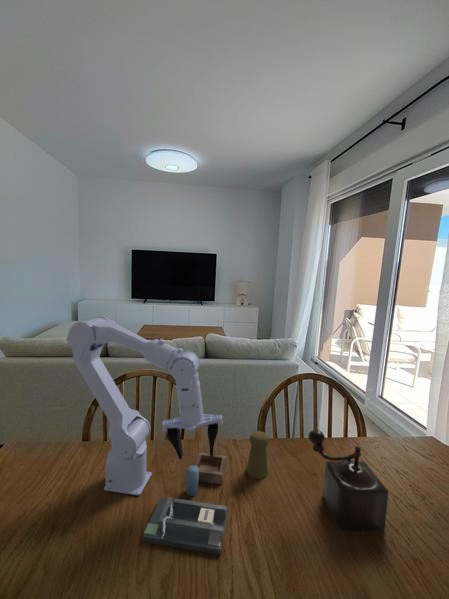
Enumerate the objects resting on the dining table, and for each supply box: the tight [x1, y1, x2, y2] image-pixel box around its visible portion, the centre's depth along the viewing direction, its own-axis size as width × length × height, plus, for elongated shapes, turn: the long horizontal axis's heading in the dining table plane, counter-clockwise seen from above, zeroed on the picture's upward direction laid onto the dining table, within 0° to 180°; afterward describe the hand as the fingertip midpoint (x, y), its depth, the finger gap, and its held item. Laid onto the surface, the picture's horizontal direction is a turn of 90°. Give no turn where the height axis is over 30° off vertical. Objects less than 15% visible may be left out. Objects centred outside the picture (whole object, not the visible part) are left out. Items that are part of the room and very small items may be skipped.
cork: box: [246, 430, 270, 480], centre depth 82 cm, size 6×6×11 cm
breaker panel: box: [142, 496, 228, 556], centre depth 64 cm, size 16×10×3 cm, turn 82°
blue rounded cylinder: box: [185, 464, 199, 497], centre depth 73 cm, size 3×3×6 cm
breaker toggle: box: [198, 508, 215, 525], centre depth 63 cm, size 3×3×2 cm
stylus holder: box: [193, 452, 227, 485], centre depth 81 cm, size 8×8×3 cm
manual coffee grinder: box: [308, 429, 389, 532], centre depth 69 cm, size 16×11×18 cm
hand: (196, 455), depth 73 cm, fingers open, 7 cm apart
